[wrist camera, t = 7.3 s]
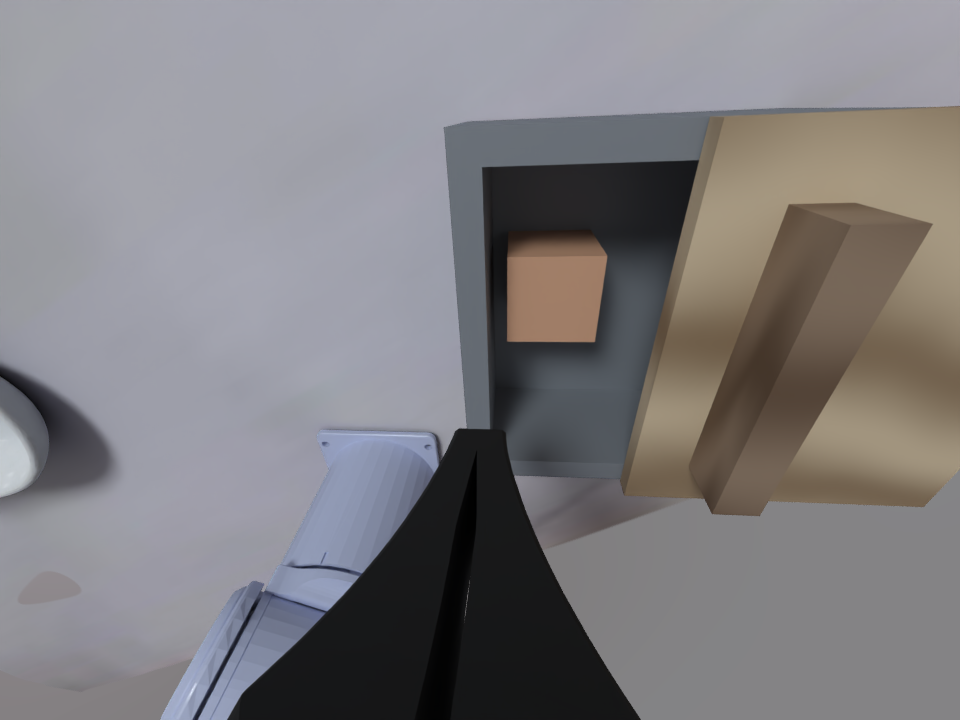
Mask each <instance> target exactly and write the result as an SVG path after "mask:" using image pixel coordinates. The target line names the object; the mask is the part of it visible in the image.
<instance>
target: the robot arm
mask: <svg viewBox="0 0 960 720" xmlns="http://www.w3.org/2000/svg"><path fill="white" fill-rule="evenodd" d="M317 440H318V443H319V445H320V448H321V451H322V453H323V456H324V459H325V461H326V464H327V467H328V469H329V471H328V473H327V475H326V477H325V479H324V481H323V483H322V485H321V486H320V488H319V490H318V492H317V494H316V496H315V498H314V500H313V502H312V504H311V506H310V508H309V510H308V512H307V514H306V516H305V518H304V520H303V522H302V523H301V525H300V527H299V529H298V531H297V533H296V535H295V537H294V539H293V541H292V543H291V545H290V547H289V549H288V551H287V553H286V555H285V557H284V558H283V560H282V562H281V564H280V565H278V566H277V568H276V570H275V572H274V574H273V576H272V578H271V580H270V582H269V584H268V586H267V588H266V590H265V591H264V592H262V591H261V590H262V588H263V586H264V583H260V582H257V581H252V582H251V583H250V584H249V585H248V586H245V587H243V588H241V589H239V590H237V591H235V592H234V593H233V594H232V596H231V597H230V599H229V600H228V602H227V603H226V605H225V606H224V608H223V609H222V611H221V613H220V614H219V616H218V618H217V619H216V621H215V622H214V624H213V626H212V627H211V629H210V631H209V633H208V634H207V636H206V638H205V639H204V641H203V643H202V644H201V646H200V648H199V650H198V651H197V653H196V655H195V657H194V658H193V660H192V662H191V664H190V666H189V667H188V669H187V671H186V673H185V674H184V676H183V678H182V680H181V681H180V683H179V685H178V687H177V689H176V690H175V692H174V694H173V696H172V698H171V700H170V701H169V703H168V706H167V707H166V709H165V711H164V713H163V715H162V716H161V719H160V720H641V719H640V718H639V716H638V715H637V713H636V712H635V710H634V709H633V707H632V706H631V704H630V703H629V701H628V700H627V698H626V697H625V695H624V694H623V692H622V690H621V689H620V687H619V686H618V684H617V683H616V681H615V680H614V678H613V677H612V675H611V673H610V672H609V670H608V669H607V667H606V665H605V664H604V662H603V660H602V659H601V657H600V655H599V654H598V652H597V650H596V649H595V647H594V646H593V644H592V642H591V641H590V639H589V637H588V636H587V634H586V632H585V630H584V629H583V627H582V625H581V623H580V621H579V620H578V618H577V616H576V614H575V612H574V611H573V609H572V607H571V605H570V604H569V602H568V600H567V598H566V597H565V595H564V593H563V591H562V589H561V587H560V585H559V583H558V581H557V579H556V577H555V575H554V573H553V572H552V569H551V568H550V565H549V563H548V561H547V559H546V557H545V555H544V553H543V551H542V548H541V546H540V544H539V542H538V539H537V537H536V535H535V532H534V530H533V528H532V525H531V523H530V520H529V518H528V515H527V513H526V510H525V507H524V505H523V502H522V499H521V496H520V493H519V490H518V487H517V484H516V481H515V478H514V474H513V471H512V467H511V463H510V459H509V454H508V449H507V441H506V432H504V431H503V430H497V429H460V428H459V429H458V430H456V431H455V433H454V436H453V438H452V440H451V443H450V445H449V447H448V449H447V451H446V453H445V455H444V457H443V459H442V460H441V462H440V463H439V456H438V449H437V442H436V437H435V435H433V434H432V433H427V432H389V431H350V430H321V431H319V433H318V435H317ZM327 442H328V443H327ZM428 445H431V446H428ZM469 582H470V584H469ZM468 588H469V592H468ZM467 594H468V601H467ZM466 602H467V608H466ZM465 610H466V616H465ZM464 620H465V622H464Z"/></svg>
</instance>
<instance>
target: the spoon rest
mask: <svg viewBox="0 0 960 720" xmlns="http://www.w3.org/2000/svg"><path fill="white" fill-rule="evenodd" d="M48 452H49V435H48V430H47V427H46V424H45V422H44V420H43V418H42V416H41V414H40V412H39V411H38V409H37V408H36V407H35V405H34V404H33V403H32V402H31V401H30V400H29V399H28V398H27V397H26V395H24V394H23V393H22V392H21V391H20V390H19V389H17V388H16V387H15V386H13V385H12V384H11V383H9V382H8V381H6V380H5V379H4V378H2V377H0V498H2V497H5V496H9V495H12V494H15V493H17V492H20V491H22V490H25V489H26V488H28V487H29V486H31V485H32V484H33V483H34V482H35V481H36V480H37V479H38V478H39V476H40V474H41V472H42V471H43V469H44V467H45V464H46V461H47V457H48Z"/></svg>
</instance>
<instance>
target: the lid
mask: <svg viewBox="0 0 960 720" xmlns="http://www.w3.org/2000/svg"><path fill="white" fill-rule="evenodd" d="M959 469H960V106H951V107H927V108H903V109H879V110H855V111H830V112H806V113H782V114H758V115H734V116H710V119H709V123H708V127H707V131H706V135H705V139H704V143H703V147H702V151H701V155H700V159H699V163H698V167H697V171H696V175H695V179H694V183H693V187H692V192H691V196H690V200H689V204H688V208H687V212H686V216H685V220H684V224H683V228H682V232H681V236H680V240H679V244H678V248H677V252H676V256H675V260H674V264H673V268H672V272H671V277H670V281H669V285H668V289H667V293H666V297H665V301H664V305H663V309H662V313H661V317H660V321H659V325H658V329H657V333H656V337H655V341H654V345H653V349H652V353H651V357H650V362H649V366H648V370H647V374H646V378H645V382H644V386H643V390H642V394H641V398H640V402H639V406H638V410H637V414H636V418H635V422H634V426H633V430H632V434H631V438H630V443H629V447H628V451H627V455H626V459H625V463H624V467H623V471H622V475H621V479H620V482H621V486H622V489H623V493H624V496H648V497H675V498H701V499H705V501H706V503H707V505H708V507H709V509H710V511H711V513H712V514H722V515H747V516H760V514H761V513H762V511H763V509H764V508H765V506H766V504H767V503H768V501H780V502H805V503H832V504H833V503H834V504H858V505H885V506H912V507H924V506H925V505H926V504H927V503H928V502H929V501H930V500H931V499H932V497H934V495H935V494H936V493H937V492H938V491H939V490H940V489H941V488H942V487H943V486H944V485H945V484H946V483H947V482H948V481H949V480H950V479H951V478H952V477H953V476H954V475H955V474H956V473H957V471H958V470H959Z"/></svg>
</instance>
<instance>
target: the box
mask: <svg viewBox="0 0 960 720" xmlns="http://www.w3.org/2000/svg"><path fill="white" fill-rule="evenodd" d="M907 108H926V107H907ZM879 109H903V108H778V109H754V110H731V111H707V112H684V113H660V114H637V115H613V116H590V117H566V118H543V119H519V120H496V121H472V122H464V123H460V124H456V125H452V126H448V127H444V134H445V147H446V160H447V173H448V186H449V199H450V212H451V226H452V239H453V252H454V265H455V278H456V291H457V304H458V318H459V331H460V344H461V357H462V370H463V383H464V397H465V410H466V423H467V429H497V430H503V431H504V432H506V441H507V449H508V454H509V459H510V463H511V467H512V471H513V474H514V475H519V476H548V477H577V478H605V479H621V475H622V471H623V467H624V463H625V459H626V455H627V451H628V447H629V443H630V438H631V434H632V430H633V426H634V422H635V418H636V414H637V410H638V406H639V402H640V398H641V394H642V390H643V386H644V382H645V378H646V374H647V370H648V366H649V362H650V357H651V353H652V349H653V345H654V341H655V337H656V333H657V329H658V325H659V321H660V317H661V313H662V309H663V305H664V301H665V297H666V293H667V289H668V285H669V281H670V277H671V272H672V268H673V264H674V260H675V256H676V252H677V248H678V244H679V240H680V236H681V232H682V228H683V224H684V220H685V216H686V212H687V208H688V204H689V200H690V196H691V192H692V187H693V183H694V179H695V175H696V171H697V167H698V163H699V159H700V155H701V151H702V147H703V143H704V139H705V135H706V131H707V127H708V123H709V119H710V116H734V115H758V114H782V113H806V112H830V111H855V110H879Z"/></svg>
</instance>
